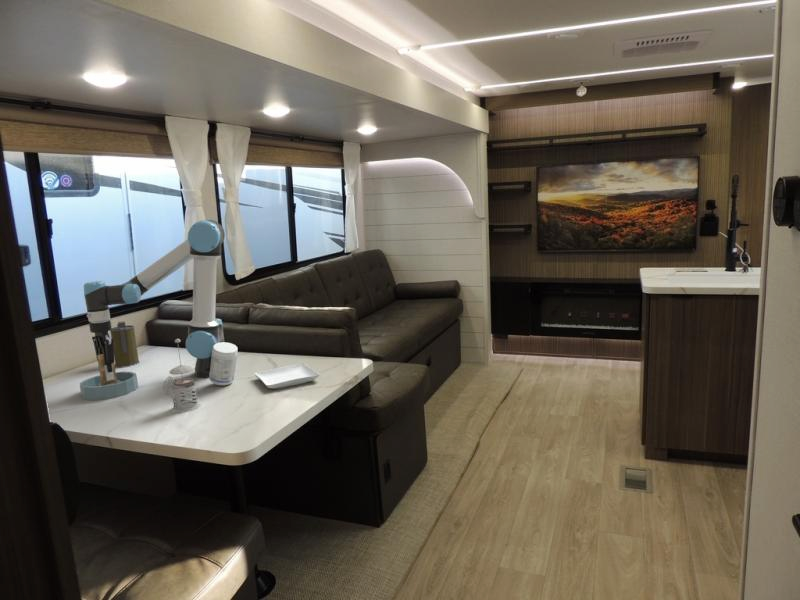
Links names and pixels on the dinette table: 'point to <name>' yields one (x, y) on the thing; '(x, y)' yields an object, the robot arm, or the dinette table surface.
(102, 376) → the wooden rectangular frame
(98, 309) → the robot arm
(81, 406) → the dinette table surface
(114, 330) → the canister
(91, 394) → the shallow blue tray
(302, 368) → the salad plate
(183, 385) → the french press
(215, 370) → the supplement tub
